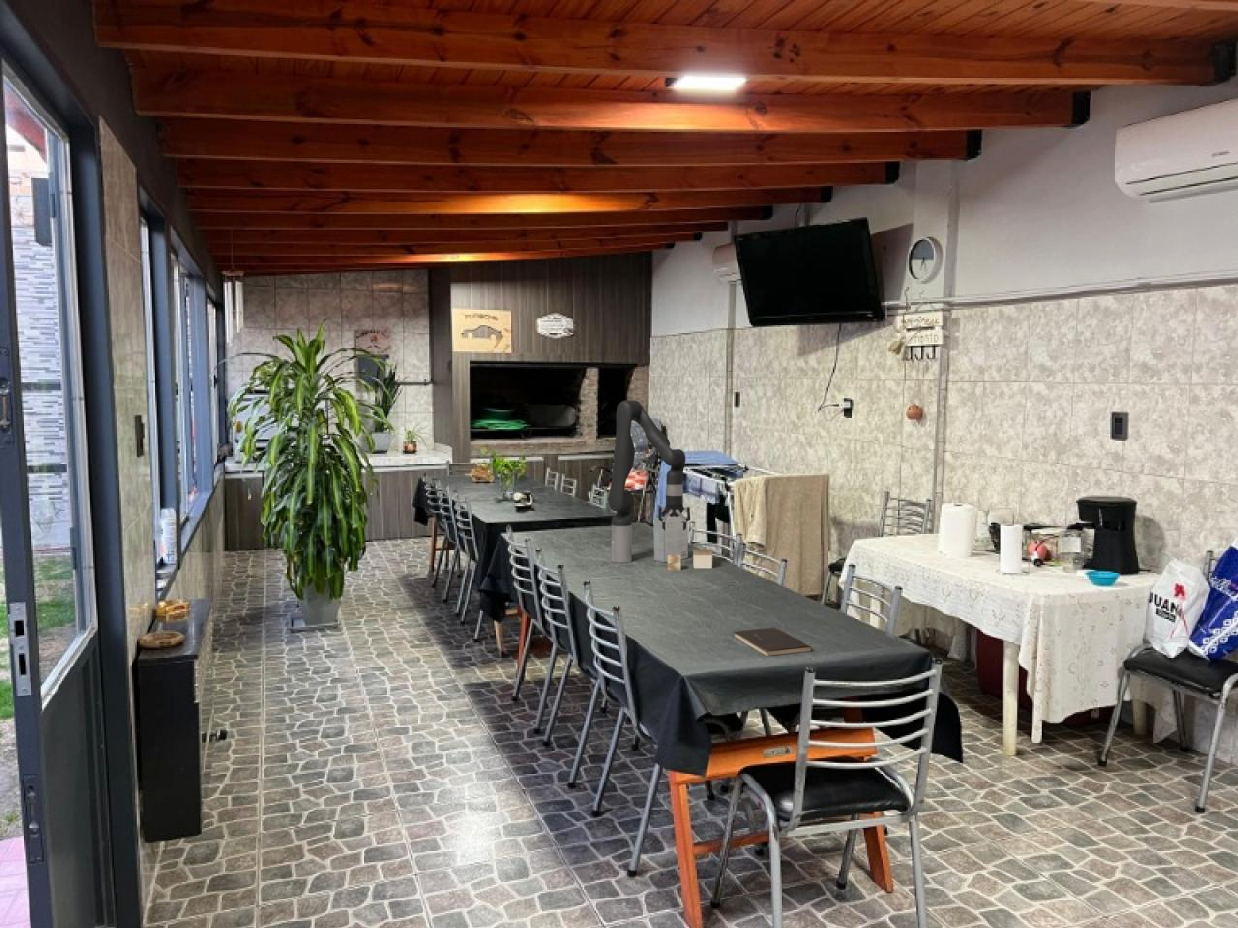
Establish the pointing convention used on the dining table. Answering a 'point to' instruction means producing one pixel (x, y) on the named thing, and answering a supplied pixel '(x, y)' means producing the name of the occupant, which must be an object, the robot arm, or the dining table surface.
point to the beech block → (673, 562)
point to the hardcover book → (772, 641)
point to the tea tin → (702, 558)
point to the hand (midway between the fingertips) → (674, 530)
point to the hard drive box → (670, 539)
